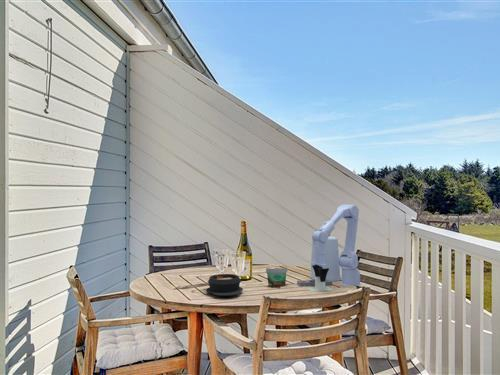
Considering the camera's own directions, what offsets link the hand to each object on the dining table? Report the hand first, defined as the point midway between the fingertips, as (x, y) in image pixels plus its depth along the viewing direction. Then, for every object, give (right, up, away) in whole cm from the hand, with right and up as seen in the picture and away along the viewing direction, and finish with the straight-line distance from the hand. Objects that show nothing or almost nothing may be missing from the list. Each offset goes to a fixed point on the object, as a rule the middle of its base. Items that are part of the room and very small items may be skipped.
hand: (320, 280), depth 203 cm
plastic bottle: (+7, -6, +25) cm, 27 cm away
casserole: (-50, -5, -6) cm, 50 cm away
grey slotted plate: (-1, -5, +10) cm, 11 cm away
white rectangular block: (0, -4, 0) cm, 4 cm away
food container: (-21, -6, +8) cm, 23 cm away
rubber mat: (0, -5, 0) cm, 5 cm away
